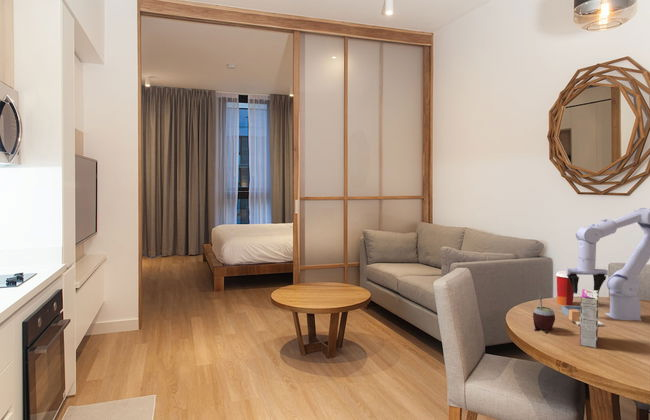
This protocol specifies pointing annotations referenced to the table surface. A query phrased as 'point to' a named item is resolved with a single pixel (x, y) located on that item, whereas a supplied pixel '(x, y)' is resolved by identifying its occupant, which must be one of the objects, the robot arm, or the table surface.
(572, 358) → the table surface
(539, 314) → the mate gourd
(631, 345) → the table surface
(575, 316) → the lid
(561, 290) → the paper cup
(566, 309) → the tub
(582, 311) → the candy bar box
